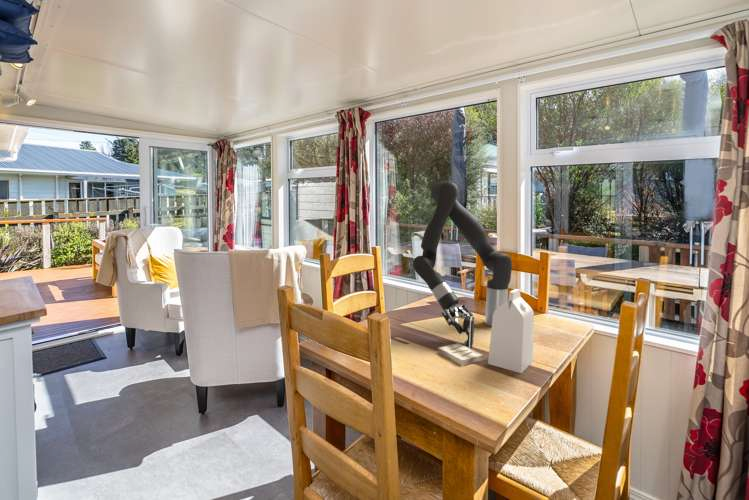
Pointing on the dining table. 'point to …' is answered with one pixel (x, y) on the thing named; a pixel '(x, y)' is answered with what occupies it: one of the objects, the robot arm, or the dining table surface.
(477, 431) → the dining table surface
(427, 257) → the robot arm
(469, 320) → the dark upright piece
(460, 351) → the board
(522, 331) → the milk
